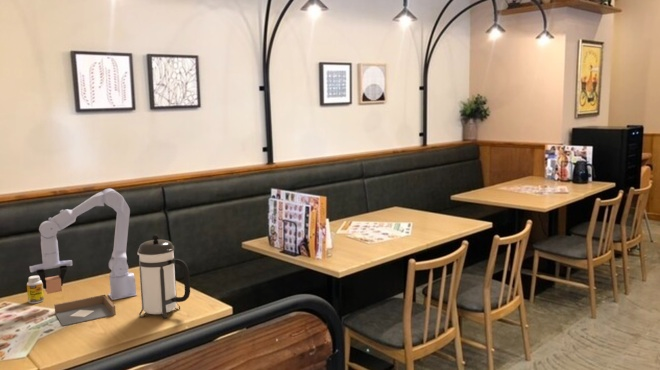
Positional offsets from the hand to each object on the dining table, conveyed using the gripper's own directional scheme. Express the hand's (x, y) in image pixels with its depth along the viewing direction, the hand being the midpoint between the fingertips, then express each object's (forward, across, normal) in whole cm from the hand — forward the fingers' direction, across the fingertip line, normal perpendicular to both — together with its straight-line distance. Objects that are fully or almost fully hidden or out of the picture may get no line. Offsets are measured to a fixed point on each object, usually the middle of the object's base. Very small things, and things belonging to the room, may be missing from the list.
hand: (53, 286), depth 209 cm
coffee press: (+8, -32, +32) cm, 46 cm away
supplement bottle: (+8, +5, -12) cm, 16 cm away
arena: (+8, -8, +15) cm, 19 cm away
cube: (+2, 0, 0) cm, 2 cm away
